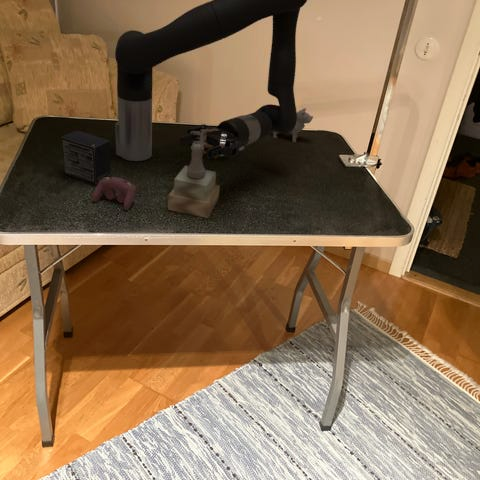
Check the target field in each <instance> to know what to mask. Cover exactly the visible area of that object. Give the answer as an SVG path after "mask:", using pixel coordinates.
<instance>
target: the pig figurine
mask: <svg viewBox="0 0 480 480" xmlns="http://www.w3.org/2000/svg"><path fill="white" fill-rule="evenodd" d="M306 111H307V108H305V107H304V108H302V109H300V110H298V111H297V122H296V125H295V127H294V129H293V130H292V131H291V132H290V133H291V135H292V140H291V141H292V143H296V142H297V139H298V133H300V132H301V131H302V130H303V129H305V126H306V125H305V124H310V123H311V122H312V121H313V120H314V119H313V118H314V116H312V115H311V114H310V113H308V112H306ZM272 132H273V135H272V136H273V138H275V139H277V138H278V136H277V135H279V134H280V132H275V131H272Z"/></svg>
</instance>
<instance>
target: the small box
mask: <svg viewBox="0 0 480 480" xmlns="http://www.w3.org/2000/svg"><path fill="white" fill-rule="evenodd" d="M60 140H61V148H62V157H63V167H64V168H63V170H64V172H63V173H64V175H66V176H69V177H71V178H75V179H78V180H81V181H83V182H86V183H88V184H92V185H95V186H97V185H98V183H99V182H100V180H102V179H103V178H105V177H112V175H111V158H110V157H111V155H110V140H108V139H105V138H103V137H100V136H96V135H92V134H91V133H87V132H83V131H80V130H74V131H72V132H70V133H67V134H65V135H62V136H61V137H60Z"/></svg>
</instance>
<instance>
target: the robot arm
mask: <svg viewBox="0 0 480 480" xmlns="http://www.w3.org/2000/svg"><path fill="white" fill-rule="evenodd" d="M307 2H308V0H210V1H206V2H205V3H202V4H200V5H197V6H195V7H193V8H191V9H190V10H188V11H186V12H184V13H183V14H181V15H179V16H178V17H177V18H175V19H174V20H173V21H171V22H170V23H168V24H167V25H165V26H163V27H161V28H158V29H156V30H152V31H150V32H146V33H143V32H141V31H140V30H133V29H132V30H127V31H125V32H124V33H123V34H121V35H120V37H119V38H118V40H117V42H116V46H115V53H114V54H115V57H114V58H115V61H116V68H117V70H116V71H117V74H116V76H117V77H116V79H117V81H116V95H117V97H116V98H117V121H116V123H115V127H114V128H115V150H116V151H115V155H116V156H118V157H120V158H122V159H124V160H125V161H131V162H142V161H146V160H149V159H150V158H151V157H152V156H153V155H152V153H153V147H152V146H153V145H152V144H153V143H152V142H153V140H152V139H153V70H154V69H153V68H154V67H156V66H159V65H160V64H162V63H163V62H166V61H168V60H170V59H172V58H174V57H176V56H180V55H182V54H183V55H184V54H186V53H188V52H191V51H195V50H197V49H200V48H203V47H204V46H205V47H206V46H208V45H211V44H215V43H217V42H219V41H221V40H224V39H226V38H228V37H230V36H233V35H234V34H237V33H239V32H240V31H242V30H244V29H246V28H248V27H250V26H252V25H254V24H256V23H257V22H259V21H262V20H263V19H267V18H269V17H272V37H271V49H270V57H269V65H268V66H269V67H268V76H267V93H268V95H271V97H274V98H276V99H277V101H278V105H277V104H270V103H269V104H265V105H262V106H261V107H259V108H258V109H257V110H255V111H254V112H252V113H251V112H250V113H249V114H244V115H243V114H242V115H238V116H235V117H232V118H229V119H226V120H223V121H221V122H220V123H219V124H218V125H217V127H216V128H207V124H202V123H201V124H200V125H199V124H198V125H196V126H192V127H188V128H186V134H185V135H181V136H180V137H179V146H181V147H185V146H188V145H190V144H191V145H192V143H194V142H196V144H197V142H199V143H202V144H203V145H212V146H214V147H212V148H206V150H205V151H206V154H205V159H208V160H210V159H212V158H213V159H214V158H215V157H216V156H219V157H224V156H225V157H226V158H227V159H232V158H233V157H236V156H238V155H240V154H243V153H244V150H245V146H248V145H251V144H252V143H254V142H256V141H259V140H262V139H264V138H266V137H268V136H269V135H270V134H271V132H274V131H275V132H279V134H289V133H291V131H292V130H293V129H294V127H295V125H296V122H297V112H298V111H297V106H296V99H295V92H294V88H295V87H294V86H295V81H296V80H295V79H296V78H295V77H296V70H297V69H296V67H297V65H296V64H297V58H296V57H297V54H296V52H297V51H296V50H297V49H296V38H297V37H296V35H297V33H296V32H297V25H298V20H299V15H300V10H301V8H302V7H303V6H305V4H306V3H307ZM206 134H207V135H206ZM204 135H206V141H204V140H203V136H204ZM197 137H200V138H198V139H197Z"/></svg>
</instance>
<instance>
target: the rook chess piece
mask: <svg viewBox="0 0 480 480" xmlns="http://www.w3.org/2000/svg"><path fill="white" fill-rule="evenodd" d="M205 149H206V148H205V147H203V144H202V143H200V144H199V142H197V143H196V142H194V143H193V144H192V143H191V145H190V150H191V151H192V152H190V153H191V160H190V164H189V165H188V166H189V167H188V168H187V170H188V171H187V174H188V176H189V177H191V178H193V179H200V178H203V177H204V176H205V170H206V168H205V166H204V164H203V156H204V153H202V152H203V150H204V151H205Z"/></svg>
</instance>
